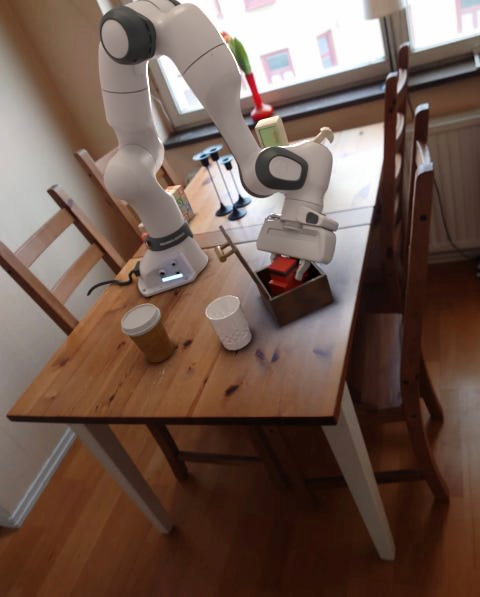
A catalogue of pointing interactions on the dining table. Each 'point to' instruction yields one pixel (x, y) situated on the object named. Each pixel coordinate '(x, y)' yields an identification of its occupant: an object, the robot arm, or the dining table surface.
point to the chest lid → (223, 258)
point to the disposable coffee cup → (147, 331)
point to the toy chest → (297, 295)
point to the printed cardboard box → (181, 201)
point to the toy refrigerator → (271, 132)
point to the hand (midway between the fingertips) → (285, 276)
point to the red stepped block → (284, 275)
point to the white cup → (229, 322)
